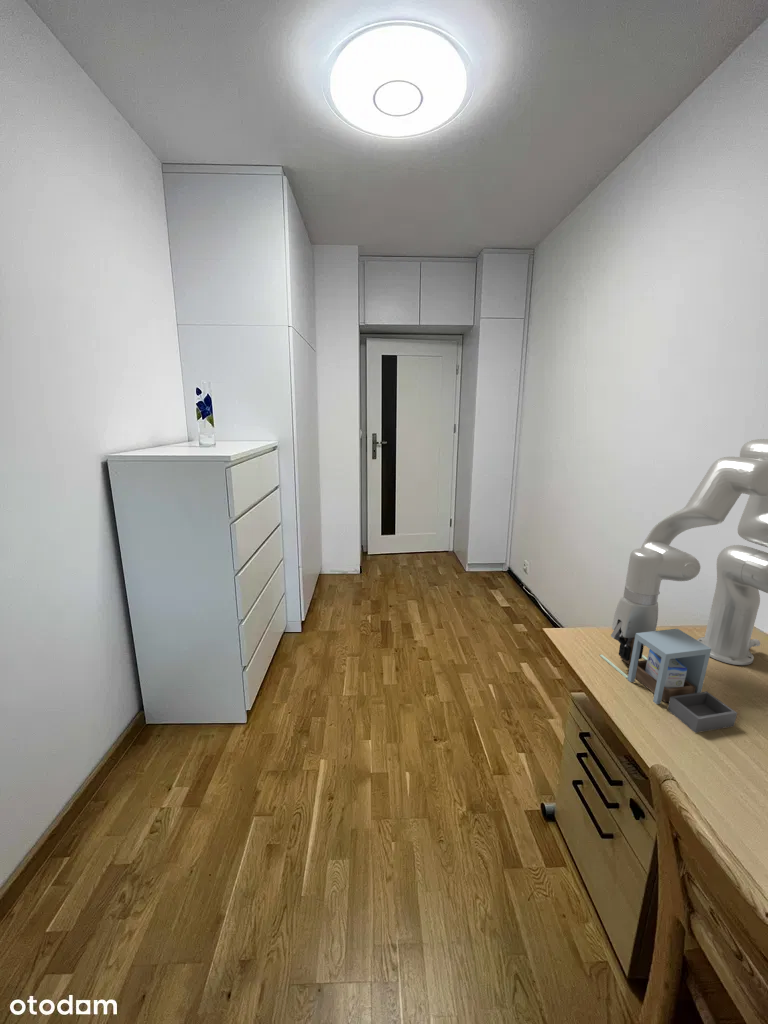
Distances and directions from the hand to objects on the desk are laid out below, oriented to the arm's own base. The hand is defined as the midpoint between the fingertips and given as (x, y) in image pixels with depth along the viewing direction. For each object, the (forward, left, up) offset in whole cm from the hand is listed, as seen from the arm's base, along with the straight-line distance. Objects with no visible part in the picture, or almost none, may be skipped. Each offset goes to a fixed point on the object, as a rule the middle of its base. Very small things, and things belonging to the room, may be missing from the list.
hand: (629, 656), depth 111 cm
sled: (0, +7, -1) cm, 7 cm away
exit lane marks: (0, +1, -2) cm, 2 cm away
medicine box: (0, +11, -2) cm, 11 cm away
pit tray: (0, +21, -2) cm, 21 cm away
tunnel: (0, +11, -2) cm, 11 cm away
